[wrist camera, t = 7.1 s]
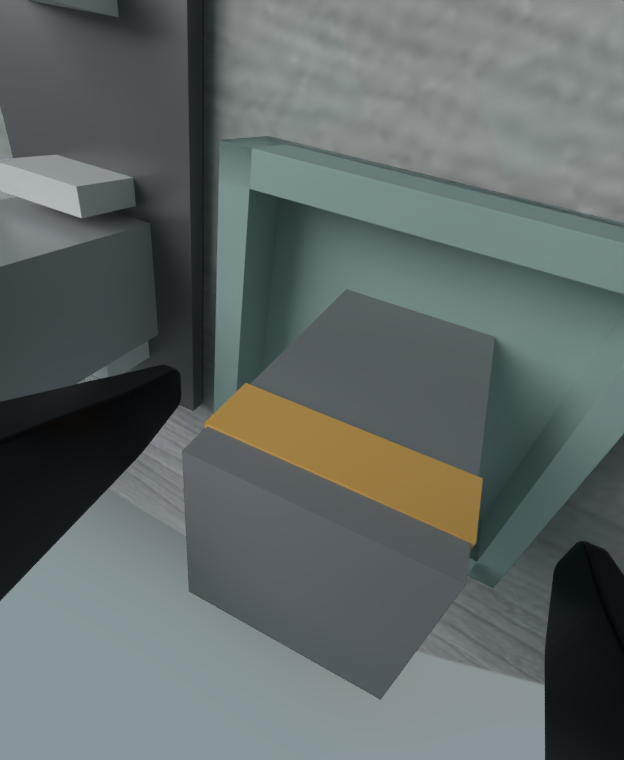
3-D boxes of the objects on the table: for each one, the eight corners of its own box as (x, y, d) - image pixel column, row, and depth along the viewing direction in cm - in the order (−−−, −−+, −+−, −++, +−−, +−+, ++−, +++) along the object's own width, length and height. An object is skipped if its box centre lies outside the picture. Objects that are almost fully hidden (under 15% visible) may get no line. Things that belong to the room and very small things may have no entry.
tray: (707, 243, 8) (756, 276, 7) (496, 531, 14) (493, 587, 12) (268, 136, 11) (219, 140, 9) (244, 421, 16) (212, 456, 15)
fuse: (497, 335, 10) (471, 583, 5) (441, 450, 13) (382, 702, 7) (344, 286, 11) (179, 447, 6) (320, 401, 14) (187, 591, 8)
